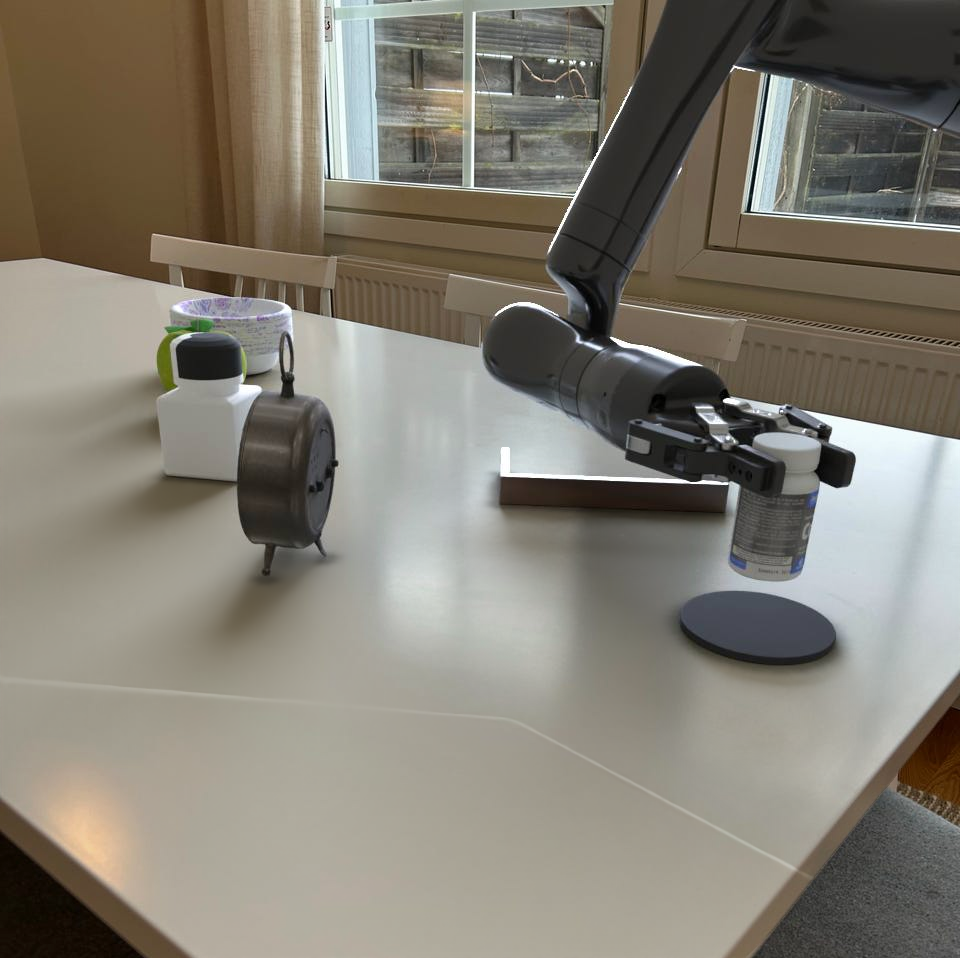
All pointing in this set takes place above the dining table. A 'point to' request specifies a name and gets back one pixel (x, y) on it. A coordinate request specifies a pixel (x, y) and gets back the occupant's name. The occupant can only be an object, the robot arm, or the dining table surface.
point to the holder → (610, 491)
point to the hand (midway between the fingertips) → (814, 476)
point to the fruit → (165, 355)
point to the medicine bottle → (204, 407)
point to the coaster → (757, 627)
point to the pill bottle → (777, 513)
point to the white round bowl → (242, 325)
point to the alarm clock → (285, 467)
